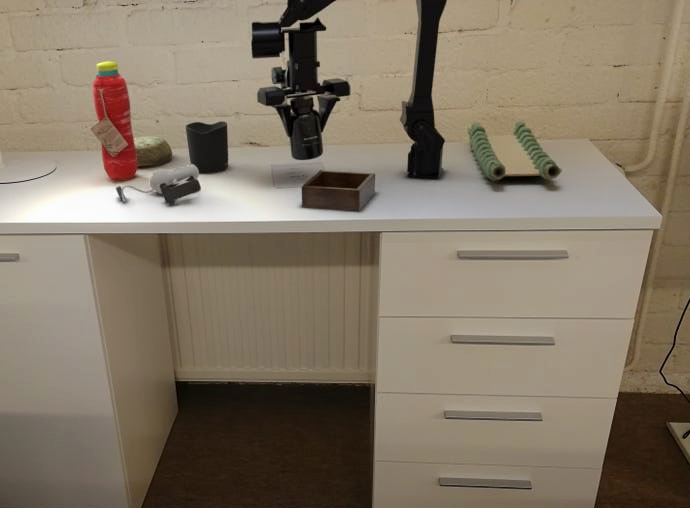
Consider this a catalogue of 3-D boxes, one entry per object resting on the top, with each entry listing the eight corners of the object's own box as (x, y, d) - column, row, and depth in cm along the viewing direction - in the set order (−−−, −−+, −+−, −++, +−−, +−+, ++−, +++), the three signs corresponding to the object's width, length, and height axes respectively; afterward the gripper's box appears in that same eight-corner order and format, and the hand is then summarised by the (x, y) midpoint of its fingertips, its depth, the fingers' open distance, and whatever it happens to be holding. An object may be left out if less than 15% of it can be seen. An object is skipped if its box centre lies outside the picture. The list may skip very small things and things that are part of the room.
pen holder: (206, 177, 175) (202, 131, 170) (181, 169, 181) (177, 126, 176) (238, 167, 180) (235, 123, 175) (213, 161, 186) (209, 118, 181)
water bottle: (125, 187, 171) (109, 67, 159) (92, 186, 173) (73, 68, 161) (146, 172, 181) (132, 58, 169) (115, 171, 183) (99, 59, 171)
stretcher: (561, 190, 152) (565, 165, 150) (486, 191, 154) (488, 167, 152) (526, 140, 187) (529, 119, 185) (465, 141, 189) (467, 120, 187)
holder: (374, 193, 157) (375, 173, 155) (359, 211, 148) (359, 190, 146) (320, 189, 162) (320, 170, 160) (301, 207, 152) (301, 186, 150)
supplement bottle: (312, 161, 162) (305, 103, 156) (285, 160, 166) (277, 103, 160) (329, 151, 166) (323, 94, 160) (303, 150, 170) (296, 94, 164)
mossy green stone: (105, 165, 188) (102, 144, 186) (142, 152, 198) (139, 132, 195) (148, 171, 181) (145, 150, 179) (183, 157, 191) (181, 136, 188)
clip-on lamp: (120, 223, 159) (203, 198, 157) (108, 195, 155) (194, 169, 154) (123, 200, 169) (202, 176, 167) (113, 173, 165) (193, 149, 163)
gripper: (328, 46, 165) (329, 121, 173) (246, 56, 160) (250, 132, 168) (351, 52, 156) (351, 131, 164) (264, 62, 151) (268, 143, 159)
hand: (305, 134), depth 164 cm, fingers closed on supplement bottle, 7 cm apart
